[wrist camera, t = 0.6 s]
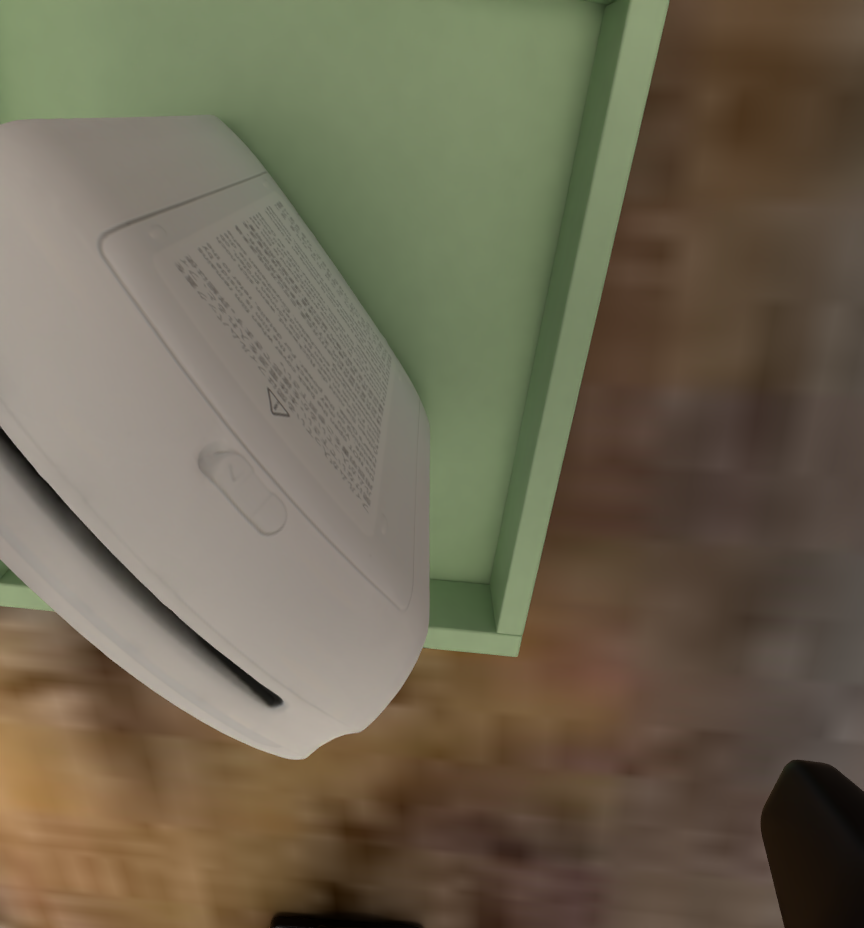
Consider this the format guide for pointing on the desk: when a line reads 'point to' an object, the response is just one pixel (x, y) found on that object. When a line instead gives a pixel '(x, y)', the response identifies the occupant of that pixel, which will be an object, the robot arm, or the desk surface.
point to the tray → (409, 210)
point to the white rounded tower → (204, 432)
